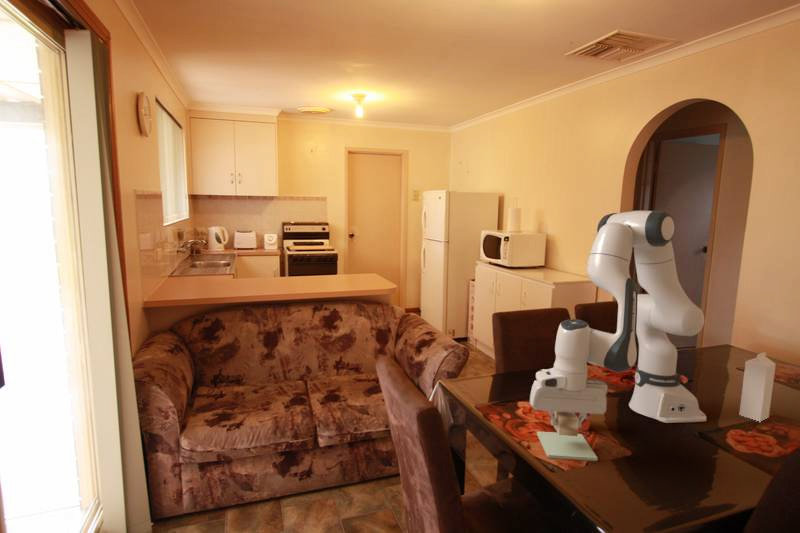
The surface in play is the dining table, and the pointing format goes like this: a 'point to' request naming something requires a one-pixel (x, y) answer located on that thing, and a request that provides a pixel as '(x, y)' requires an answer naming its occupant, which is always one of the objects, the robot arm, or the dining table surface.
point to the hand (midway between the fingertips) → (565, 425)
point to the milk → (757, 388)
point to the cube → (567, 423)
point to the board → (566, 446)
